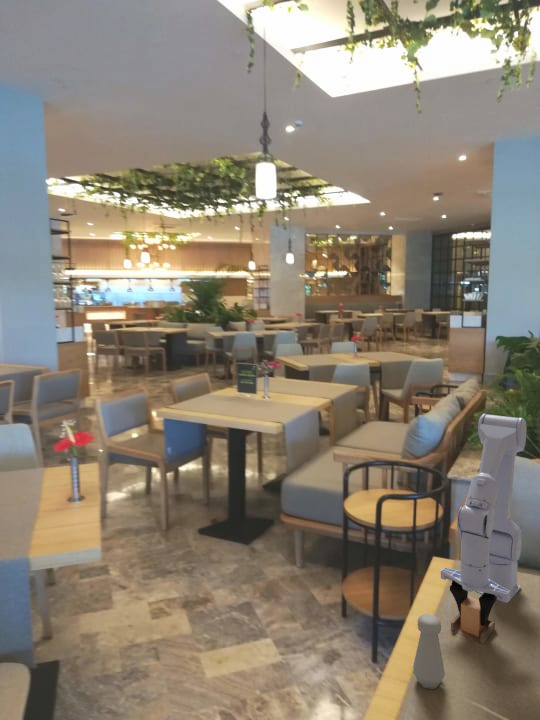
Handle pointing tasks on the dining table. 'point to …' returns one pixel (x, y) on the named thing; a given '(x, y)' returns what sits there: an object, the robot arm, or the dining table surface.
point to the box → (481, 639)
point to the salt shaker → (429, 653)
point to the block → (471, 616)
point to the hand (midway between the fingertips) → (473, 619)
